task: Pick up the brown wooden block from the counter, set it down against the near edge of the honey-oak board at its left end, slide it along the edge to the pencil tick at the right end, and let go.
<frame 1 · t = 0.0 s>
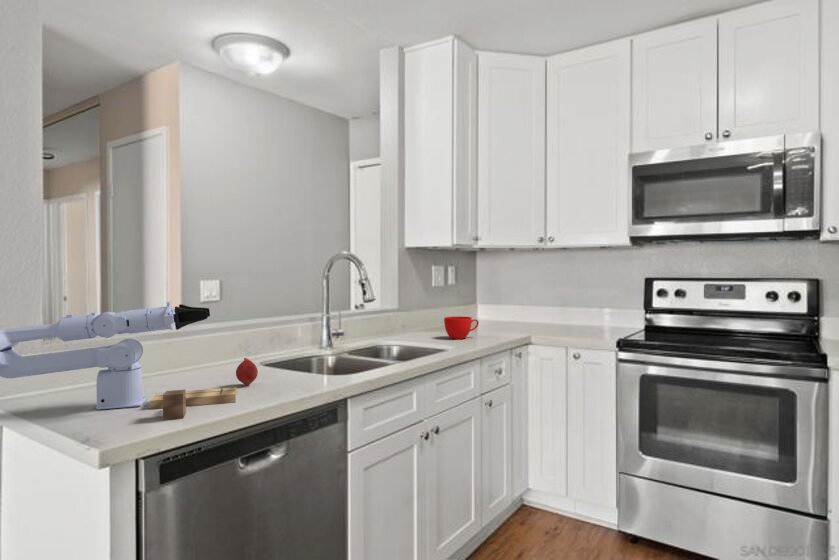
hand: (208, 313, 131), 22 cm above the worktop, tool horizontal, fingers open, 7 cm apart
onion: (247, 386, 146), on the worktop
brown wooden block: (174, 416, 114), on the worktop
ceramic cup: (461, 338, 244), on the worktop
board: (195, 401, 128), on the worktop
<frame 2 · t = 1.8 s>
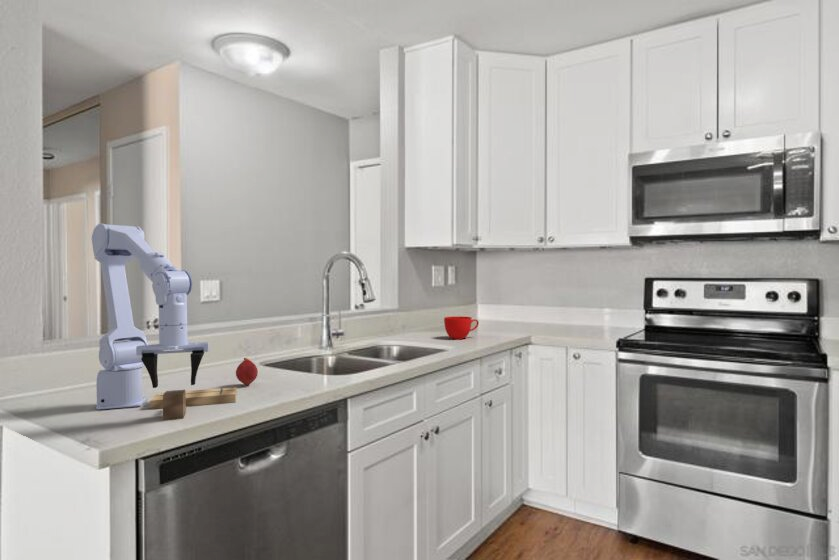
hand: (174, 385, 114), 7 cm above the worktop, tool pointing down, fingers open, 7 cm apart
nothing on the worktop moved.
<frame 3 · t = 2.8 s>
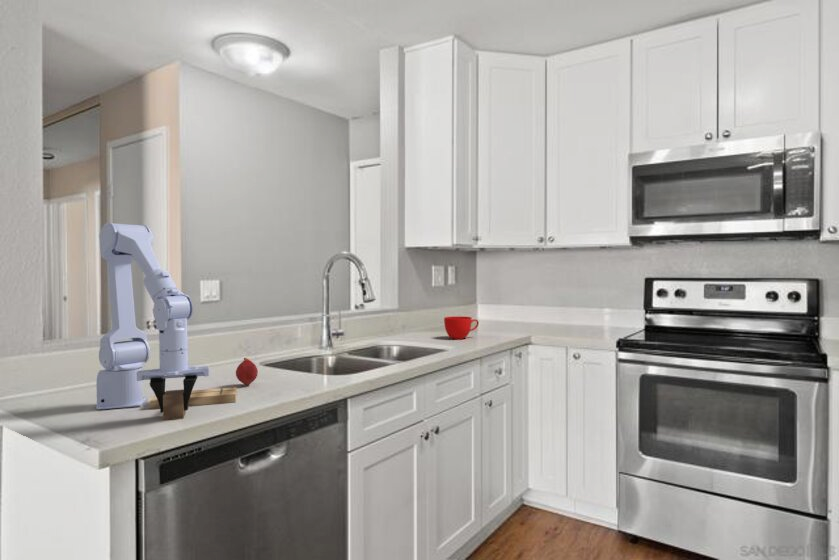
hand: (174, 410, 114), 1 cm above the worktop, tool pointing down, fingers closed on brown wooden block, 4 cm apart
brown wooden block: (174, 416, 114), on the worktop, touching gripper
everything else where it was.
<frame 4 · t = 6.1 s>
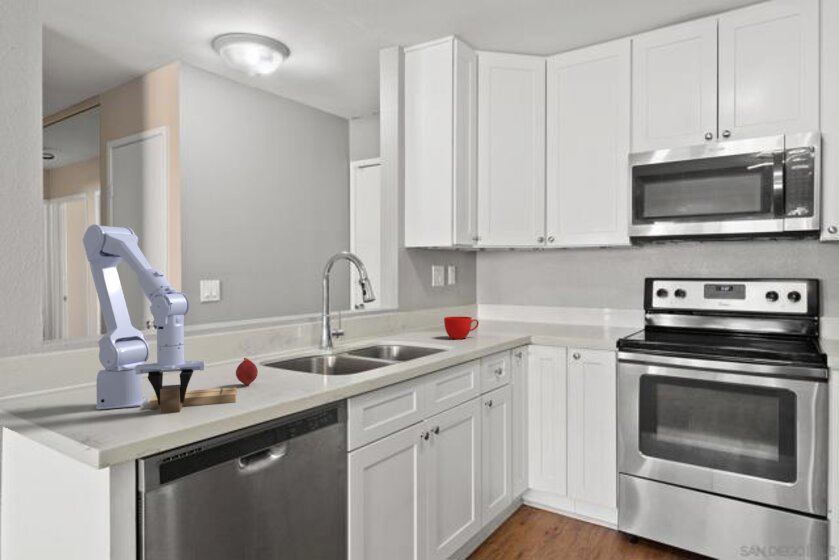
hand: (171, 402, 120), 2 cm above the worktop, tool pointing down, fingers closed on brown wooden block, 4 cm apart
brown wooden block: (171, 410, 120), on the worktop, touching gripper
everything else where it was.
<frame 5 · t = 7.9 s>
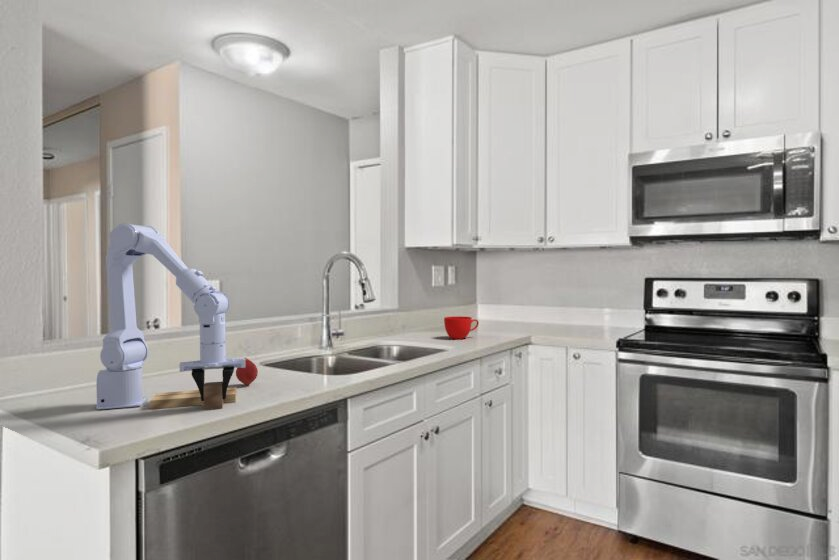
hand: (213, 399, 123), 2 cm above the worktop, tool pointing down, fingers closed on brown wooden block, 4 cm apart
brown wooden block: (213, 406, 123), on the worktop, touching gripper
everything else where it was.
when the fingers open (2 cm above the worktop, at t = 9.5 s): brown wooden block stays where it is, on the worktop.
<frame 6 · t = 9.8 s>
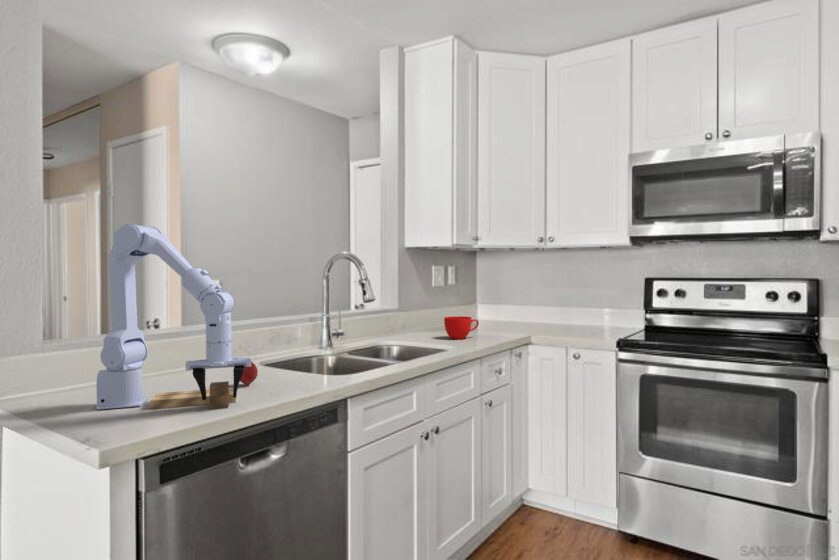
hand: (219, 398, 123), 2 cm above the worktop, tool pointing down, fingers open, 6 cm apart
brown wooden block: (219, 406, 123), on the worktop
everything else where it was.
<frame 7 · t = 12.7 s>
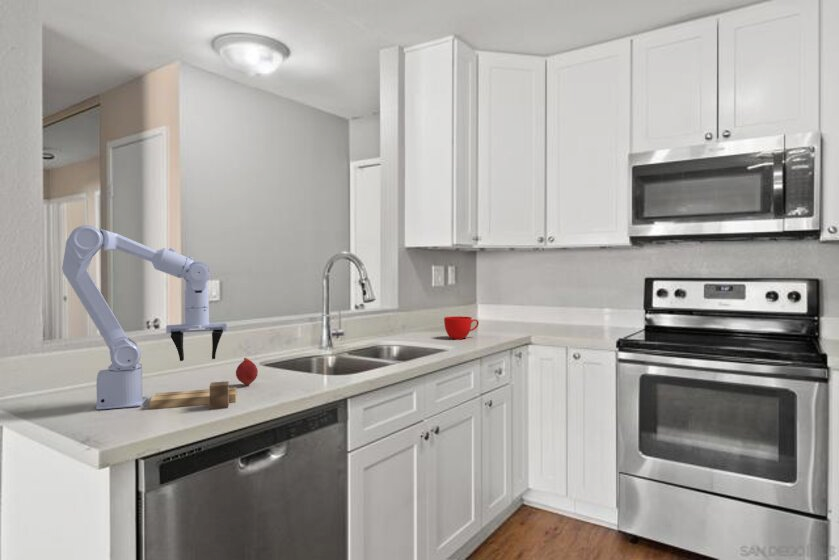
hand: (197, 359, 134), 9 cm above the worktop, tool pointing down, fingers open, 7 cm apart
nothing on the worktop moved.
at the end: brown wooden block 0.2 cm from the target spot, on the worktop; brown wooden block tilted 0°; the gripper is holding nothing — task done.
